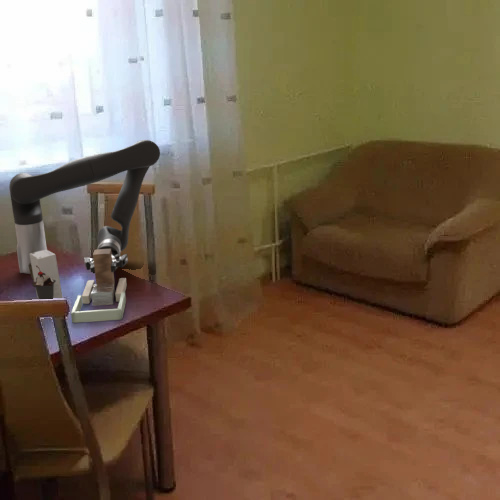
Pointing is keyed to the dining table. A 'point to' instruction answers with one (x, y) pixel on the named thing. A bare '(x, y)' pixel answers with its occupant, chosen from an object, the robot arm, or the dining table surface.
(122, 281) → the slot rails
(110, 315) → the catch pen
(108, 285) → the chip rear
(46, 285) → the sundae
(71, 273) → the dining table surface
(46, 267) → the skincare box
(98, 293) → the grey rectangular block
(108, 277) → the block
